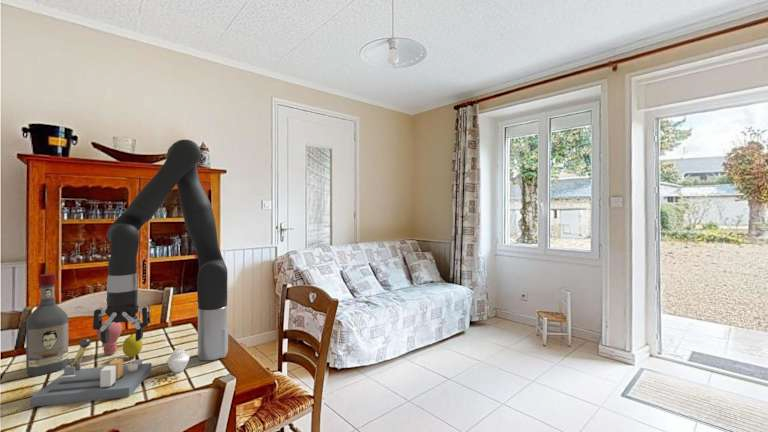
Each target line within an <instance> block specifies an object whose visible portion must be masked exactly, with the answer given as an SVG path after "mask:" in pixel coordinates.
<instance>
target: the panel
mask: <svg viewBox="0 0 768 432" xmlns="http://www.w3.org/2000/svg"><path fill="white" fill-rule="evenodd" d="M72 365H73V362H71V363H70V365H69V367H68V366H67V367H65V368H64V369H63V373H62V374H61V375H59V376H58V377H57V378H55V379H54V380H52V381H51V382H50V383H48V384H47V385H45V386H44V387H43V388H42V389H40V390H39V391H38V392H35V394H33V395H32V396H30V408H34V407H43V406H53V405H62V404H63V405H64V404H72V403H81V402H91V401H101V400H103V401H104V400H110V399H120V398H121V399H122V398H128V397H129V398H130V396H131V395H132V394H133V393H134V392H135V391H136V390H137V389H138V387H139V386H140V385H141V384H142V382H143V381H144V380H145V379H147V377H148V376H149V374H150V373H151V372H152V369H153V366H152V365H153V364H152V362H148V363H147V362H146V363H143V359H142V358H141V359H135V360H132V361H131V363H130V364H123V375H122V376H121V377H120V378H119V379H116V382H115V383H113V384H112V385H111V386H108V387H100V371H101V370H102V369H103V368H104V367H105V366H98V367H85V368H82V362H80V364H79V367H78V369H76V370H75V367H72Z"/></svg>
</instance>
